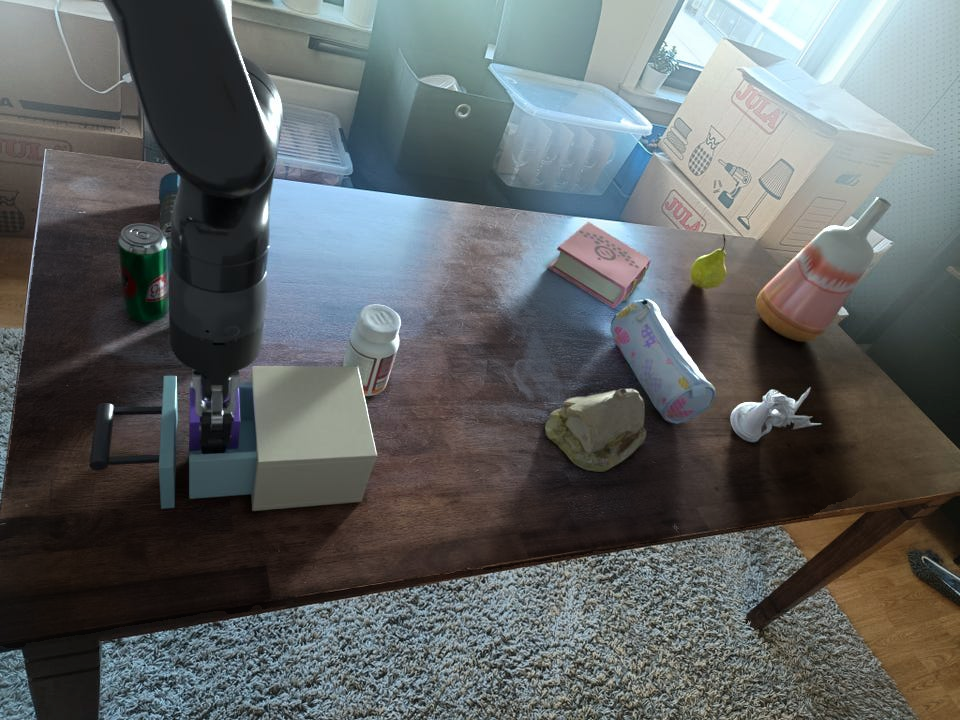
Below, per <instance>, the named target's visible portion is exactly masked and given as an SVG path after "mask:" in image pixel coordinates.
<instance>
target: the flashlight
mask: <svg viewBox="0 0 960 720" xmlns="http://www.w3.org/2000/svg"><path fill="white" fill-rule="evenodd" d="M179 183H180V176H179V175H178V174H177V173H176V172H175V171H172V172H169V173H166V174H164V175H163V176H162V177H161V179H160V183H159V190H158V201H159V204H160V211H159V213H160V214H159V222H158V225H159V229H160V230H161V231H162V232H163V235H164V237H165V238H166V240H167V251H168V285H169V276H170V271H171V218H172V211H173V206H174V202H175V199H176V196H177V193H178V189H179Z"/></svg>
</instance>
